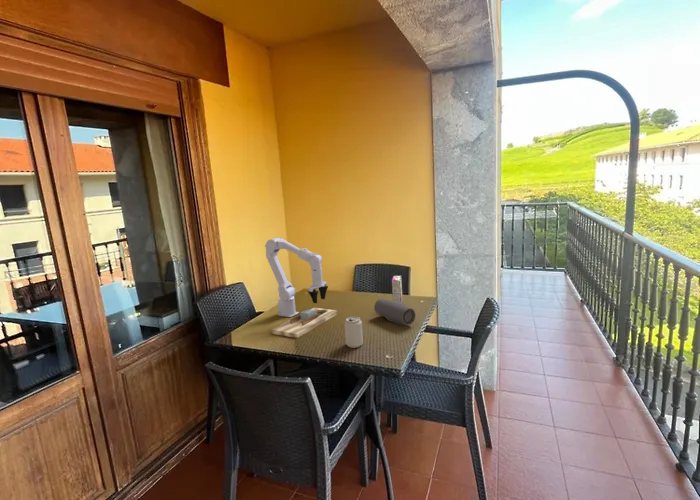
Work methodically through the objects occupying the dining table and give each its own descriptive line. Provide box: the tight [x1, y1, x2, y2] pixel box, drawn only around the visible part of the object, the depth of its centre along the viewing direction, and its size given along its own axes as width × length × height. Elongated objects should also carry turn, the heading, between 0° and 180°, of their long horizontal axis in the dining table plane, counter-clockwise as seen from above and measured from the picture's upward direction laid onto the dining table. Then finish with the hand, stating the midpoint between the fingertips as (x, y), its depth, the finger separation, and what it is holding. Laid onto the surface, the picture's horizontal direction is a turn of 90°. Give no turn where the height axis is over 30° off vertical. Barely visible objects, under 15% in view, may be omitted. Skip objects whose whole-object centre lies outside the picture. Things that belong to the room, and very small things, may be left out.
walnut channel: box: [289, 313, 318, 326], centre depth 187 cm, size 8×13×2 cm, turn 150°
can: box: [344, 316, 364, 349], centre depth 157 cm, size 8×8×12 cm
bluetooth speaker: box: [373, 298, 416, 326], centre depth 183 cm, size 23×9×10 cm, turn 32°
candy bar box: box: [391, 275, 404, 305], centre depth 207 cm, size 11×5×16 cm, turn 168°
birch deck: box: [270, 307, 339, 339], centre depth 189 cm, size 16×36×2 cm, turn 150°
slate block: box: [299, 308, 315, 320], centre depth 190 cm, size 5×6×4 cm
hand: (319, 301), depth 198 cm, fingers open, 7 cm apart
